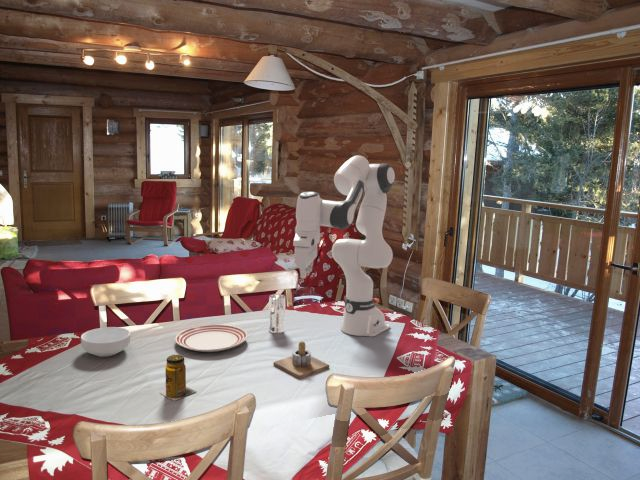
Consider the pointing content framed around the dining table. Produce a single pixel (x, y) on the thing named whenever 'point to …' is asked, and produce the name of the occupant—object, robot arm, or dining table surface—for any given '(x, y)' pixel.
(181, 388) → the condiment
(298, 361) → the ring
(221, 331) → the dinner plate
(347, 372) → the dining table surface
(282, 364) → the wooden peg stand
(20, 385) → the dining table surface
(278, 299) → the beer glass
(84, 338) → the cereal bowl
